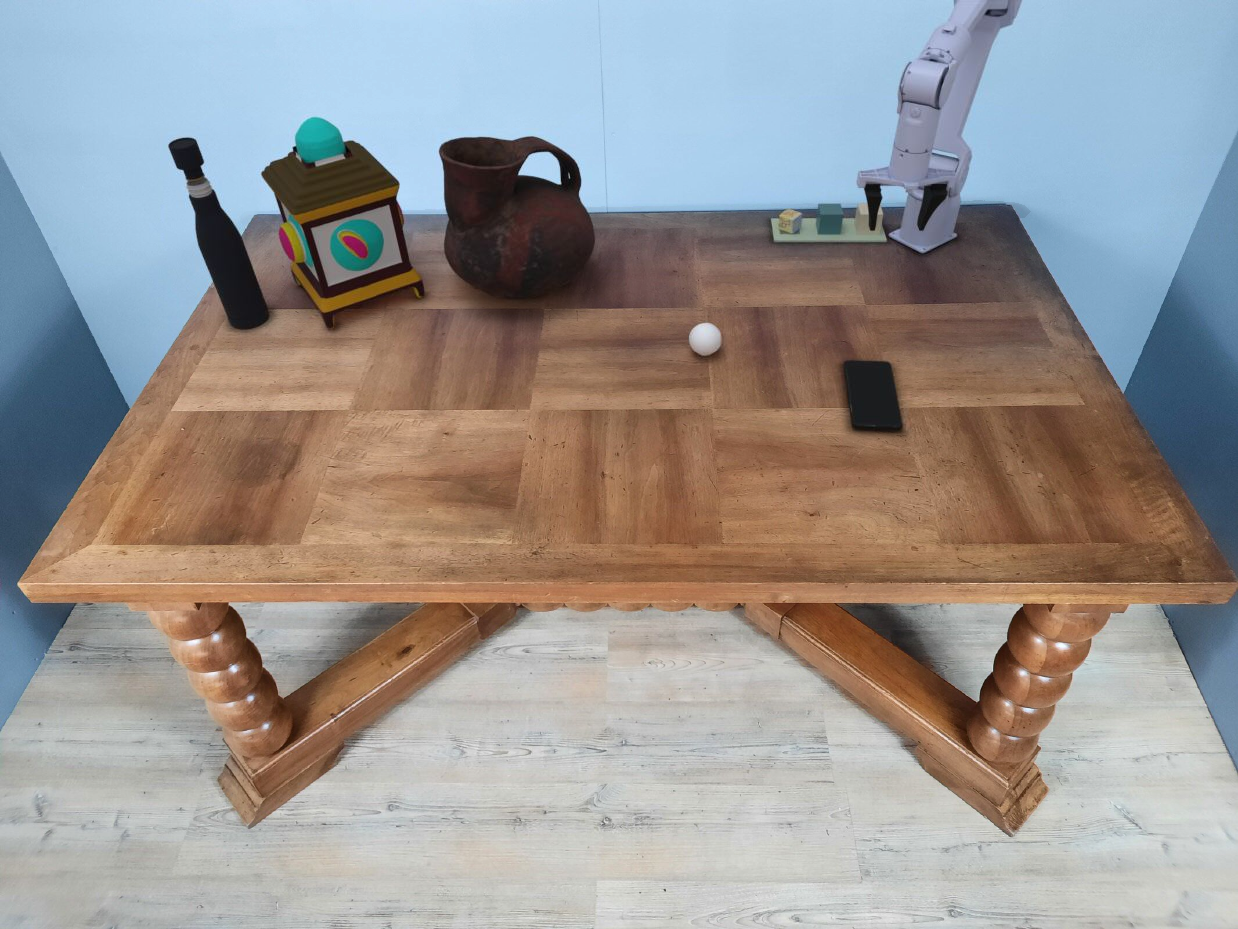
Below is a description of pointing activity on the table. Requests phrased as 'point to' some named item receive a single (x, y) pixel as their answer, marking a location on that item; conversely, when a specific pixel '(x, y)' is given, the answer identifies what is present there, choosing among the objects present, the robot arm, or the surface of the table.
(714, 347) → the white ping pong ball
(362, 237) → the decorative lantern
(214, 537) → the table surface
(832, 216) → the teal cube
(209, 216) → the wine bottle
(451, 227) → the jug
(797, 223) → the alphabet block
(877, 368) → the smartphone
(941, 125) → the robot arm
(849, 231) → the word mat
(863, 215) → the beige cube block
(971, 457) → the table surface
